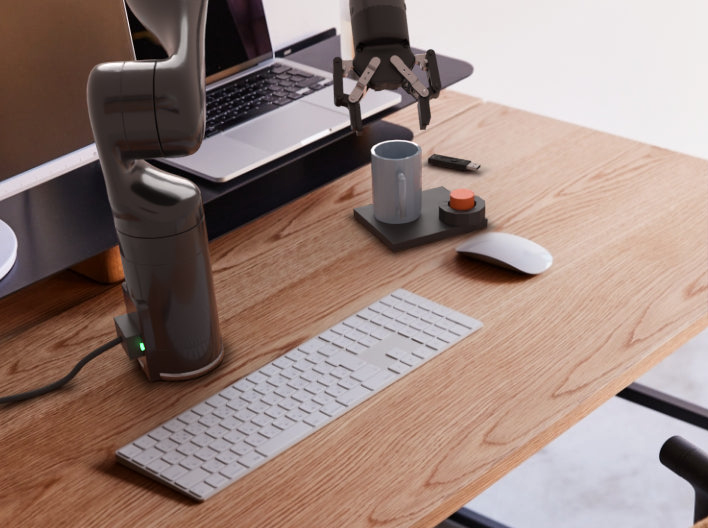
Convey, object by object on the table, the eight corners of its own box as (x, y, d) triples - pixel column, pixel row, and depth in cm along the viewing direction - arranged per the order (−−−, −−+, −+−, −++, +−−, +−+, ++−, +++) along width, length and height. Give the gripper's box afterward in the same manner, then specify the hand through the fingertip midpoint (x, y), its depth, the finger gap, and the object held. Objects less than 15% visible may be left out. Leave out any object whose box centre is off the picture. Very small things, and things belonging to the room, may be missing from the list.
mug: (370, 204, 146) (368, 142, 141) (417, 200, 147) (417, 138, 141) (378, 235, 139) (377, 171, 133) (428, 231, 139) (428, 166, 134)
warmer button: (457, 213, 140) (457, 201, 139) (445, 204, 142) (445, 192, 141) (478, 207, 141) (479, 195, 140) (466, 198, 143) (466, 186, 142)
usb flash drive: (481, 168, 157) (481, 161, 156) (475, 173, 155) (475, 166, 155) (433, 158, 160) (433, 152, 160) (427, 163, 159) (427, 157, 158)
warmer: (396, 254, 137) (395, 233, 135) (353, 216, 146) (352, 196, 144) (493, 227, 142) (494, 206, 140) (445, 192, 151) (446, 172, 149)
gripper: (427, 26, 148) (441, 137, 145) (325, 34, 147) (337, 146, 145) (434, -2, 140) (448, 114, 138) (326, 6, 140) (339, 123, 137)
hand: (391, 130), depth 141 cm, fingers open, 8 cm apart
